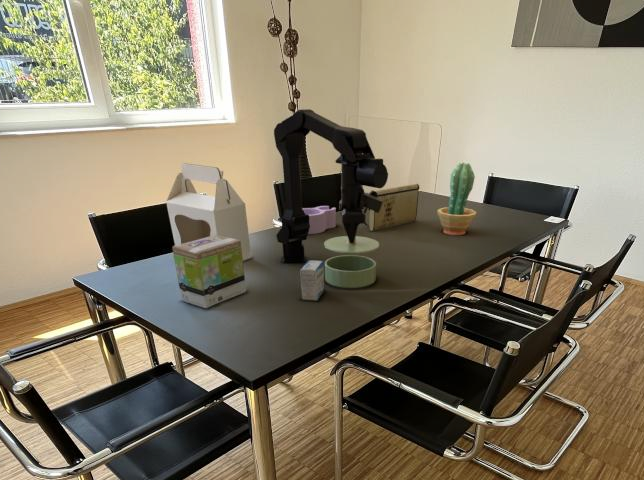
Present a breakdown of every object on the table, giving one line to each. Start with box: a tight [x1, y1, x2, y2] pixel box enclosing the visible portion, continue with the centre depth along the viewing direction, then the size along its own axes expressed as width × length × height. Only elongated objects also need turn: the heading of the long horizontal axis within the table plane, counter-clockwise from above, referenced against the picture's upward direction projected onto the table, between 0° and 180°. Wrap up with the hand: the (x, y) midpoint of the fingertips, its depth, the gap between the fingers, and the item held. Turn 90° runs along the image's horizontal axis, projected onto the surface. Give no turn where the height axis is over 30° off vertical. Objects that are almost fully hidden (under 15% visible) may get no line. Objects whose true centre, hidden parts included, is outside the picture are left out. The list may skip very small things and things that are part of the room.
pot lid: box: [323, 234, 380, 255], centre depth 135 cm, size 16×16×5 cm
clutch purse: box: [363, 183, 420, 232], centre depth 192 cm, size 30×7×15 cm, turn 133°
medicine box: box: [299, 260, 325, 302], centre depth 129 cm, size 8×4×9 cm, turn 169°
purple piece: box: [302, 205, 337, 235], centre depth 189 cm, size 20×12×7 cm, turn 137°
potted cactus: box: [436, 162, 477, 236], centre depth 182 cm, size 15×15×25 cm
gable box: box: [165, 162, 252, 262], centre depth 150 cm, size 22×13×28 cm, turn 57°
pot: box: [324, 254, 377, 289], centre depth 140 cm, size 15×15×5 cm
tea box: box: [171, 235, 247, 309], centre depth 125 cm, size 15×10×15 cm
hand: (351, 241), depth 136 cm, fingers closed on pot lid, 2 cm apart
